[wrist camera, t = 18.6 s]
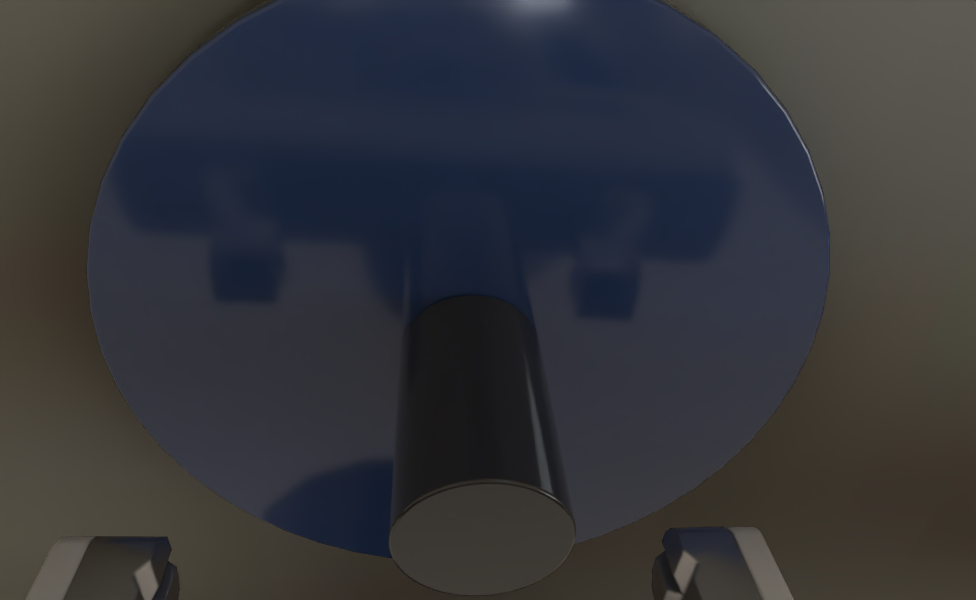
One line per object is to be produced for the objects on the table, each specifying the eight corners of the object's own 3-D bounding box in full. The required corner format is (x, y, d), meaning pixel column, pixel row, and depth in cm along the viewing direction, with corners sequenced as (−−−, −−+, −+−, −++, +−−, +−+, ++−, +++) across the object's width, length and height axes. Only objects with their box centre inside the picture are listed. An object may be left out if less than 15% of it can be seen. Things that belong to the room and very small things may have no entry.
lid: (491, -311, 9) (551, -446, 4) (914, 315, 16) (1117, 527, 11) (-29, 315, 14) (-260, 562, 9) (458, 586, 21) (464, 809, 16)
